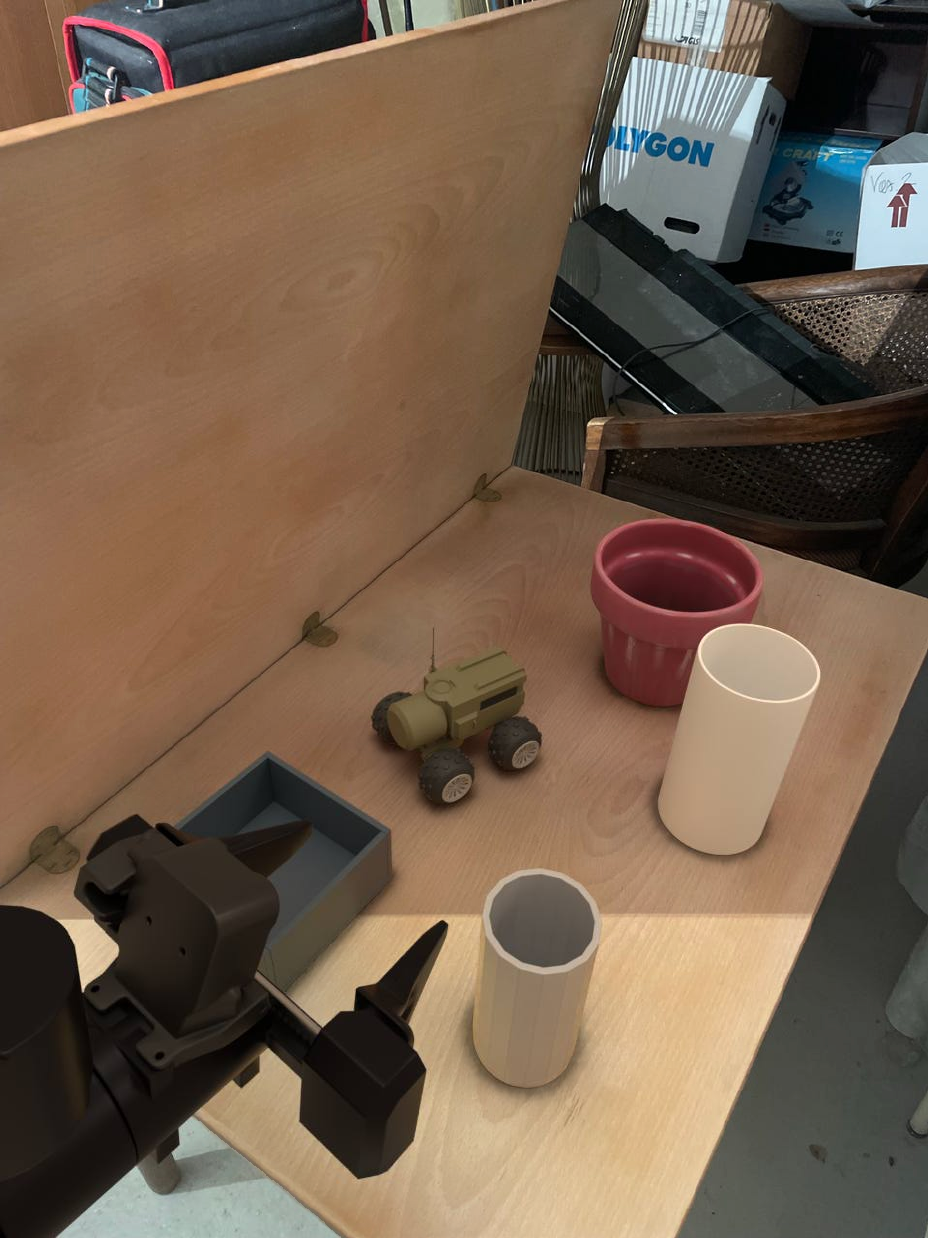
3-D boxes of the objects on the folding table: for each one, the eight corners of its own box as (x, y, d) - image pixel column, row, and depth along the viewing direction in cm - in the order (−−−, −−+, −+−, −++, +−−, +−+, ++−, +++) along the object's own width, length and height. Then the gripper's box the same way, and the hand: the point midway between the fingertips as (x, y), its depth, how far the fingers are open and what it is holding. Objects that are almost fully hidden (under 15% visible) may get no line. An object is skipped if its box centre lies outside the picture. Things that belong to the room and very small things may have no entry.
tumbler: (539, 1110, 53) (562, 997, 45) (452, 1046, 56) (459, 928, 48) (592, 1026, 57) (622, 908, 49) (509, 970, 60) (524, 849, 52)
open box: (273, 1004, 58) (264, 956, 54) (151, 905, 63) (135, 856, 60) (392, 878, 66) (391, 829, 62) (274, 799, 71) (267, 750, 67)
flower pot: (663, 753, 76) (693, 637, 68) (546, 667, 84) (560, 554, 76) (761, 681, 84) (798, 569, 76) (644, 608, 92) (667, 500, 84)
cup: (723, 874, 67) (777, 721, 57) (636, 808, 71) (673, 656, 61) (783, 816, 71) (844, 665, 61) (698, 757, 76) (741, 608, 66)
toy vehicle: (545, 762, 75) (560, 653, 67) (432, 819, 70) (434, 708, 62) (474, 688, 81) (480, 582, 74) (366, 735, 76) (361, 626, 69)
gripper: (259, 1163, 25) (558, 863, 36) (-70, 820, 34) (251, 662, 45) (257, 1330, 31) (515, 1028, 42) (-24, 1000, 40) (250, 822, 51)
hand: (374, 874), depth 45 cm, fingers open, 9 cm apart
